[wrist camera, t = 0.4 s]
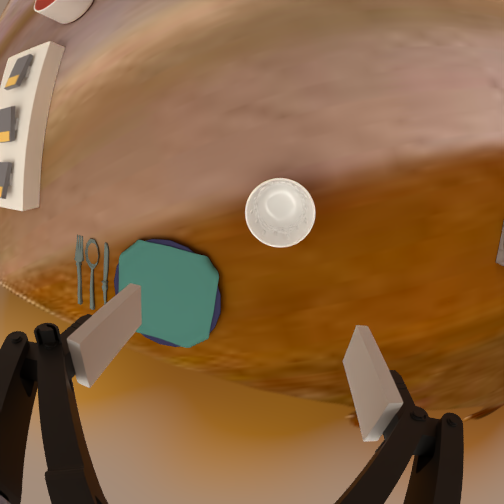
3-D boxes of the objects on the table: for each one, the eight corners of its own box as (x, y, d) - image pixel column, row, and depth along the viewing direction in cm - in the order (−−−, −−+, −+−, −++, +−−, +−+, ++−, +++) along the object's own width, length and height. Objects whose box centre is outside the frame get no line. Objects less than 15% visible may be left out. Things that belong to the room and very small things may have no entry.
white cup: (261, 235, 43) (256, 255, 33) (246, 185, 41) (236, 189, 31) (312, 222, 41) (322, 237, 32) (298, 170, 39) (304, 170, 30)
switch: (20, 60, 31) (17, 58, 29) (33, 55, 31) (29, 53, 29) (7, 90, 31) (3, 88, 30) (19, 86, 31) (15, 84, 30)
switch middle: (3, 108, 32) (-2, 109, 31) (15, 105, 32) (10, 106, 31) (3, 141, 36) (-2, 143, 35) (14, 140, 36) (10, 142, 34)
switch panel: (21, 61, 36) (5, 57, 30) (65, 47, 35) (48, 40, 30) (1, 200, 46) (-16, 204, 40) (39, 206, 45) (20, 212, 39)
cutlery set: (214, 353, 50) (211, 360, 47) (80, 307, 51) (74, 312, 49) (233, 251, 44) (231, 255, 42) (80, 215, 46) (72, 217, 43)
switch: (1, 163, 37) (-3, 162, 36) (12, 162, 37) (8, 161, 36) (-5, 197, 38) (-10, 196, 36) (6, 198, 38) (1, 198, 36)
